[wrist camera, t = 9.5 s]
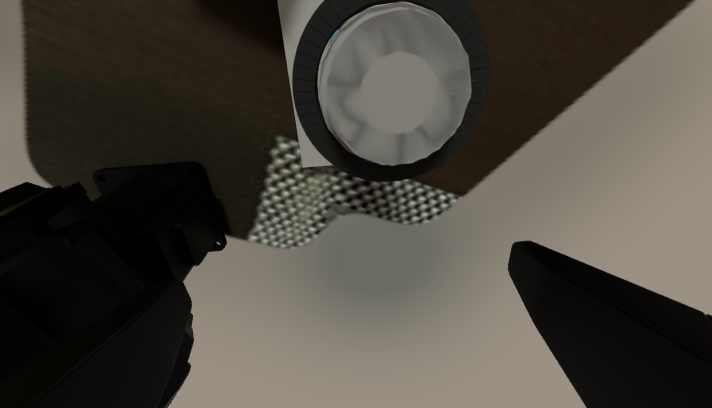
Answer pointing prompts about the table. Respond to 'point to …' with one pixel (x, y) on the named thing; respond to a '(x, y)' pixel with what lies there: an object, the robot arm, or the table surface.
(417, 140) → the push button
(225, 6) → the table surface
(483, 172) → the table surface
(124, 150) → the table surface
